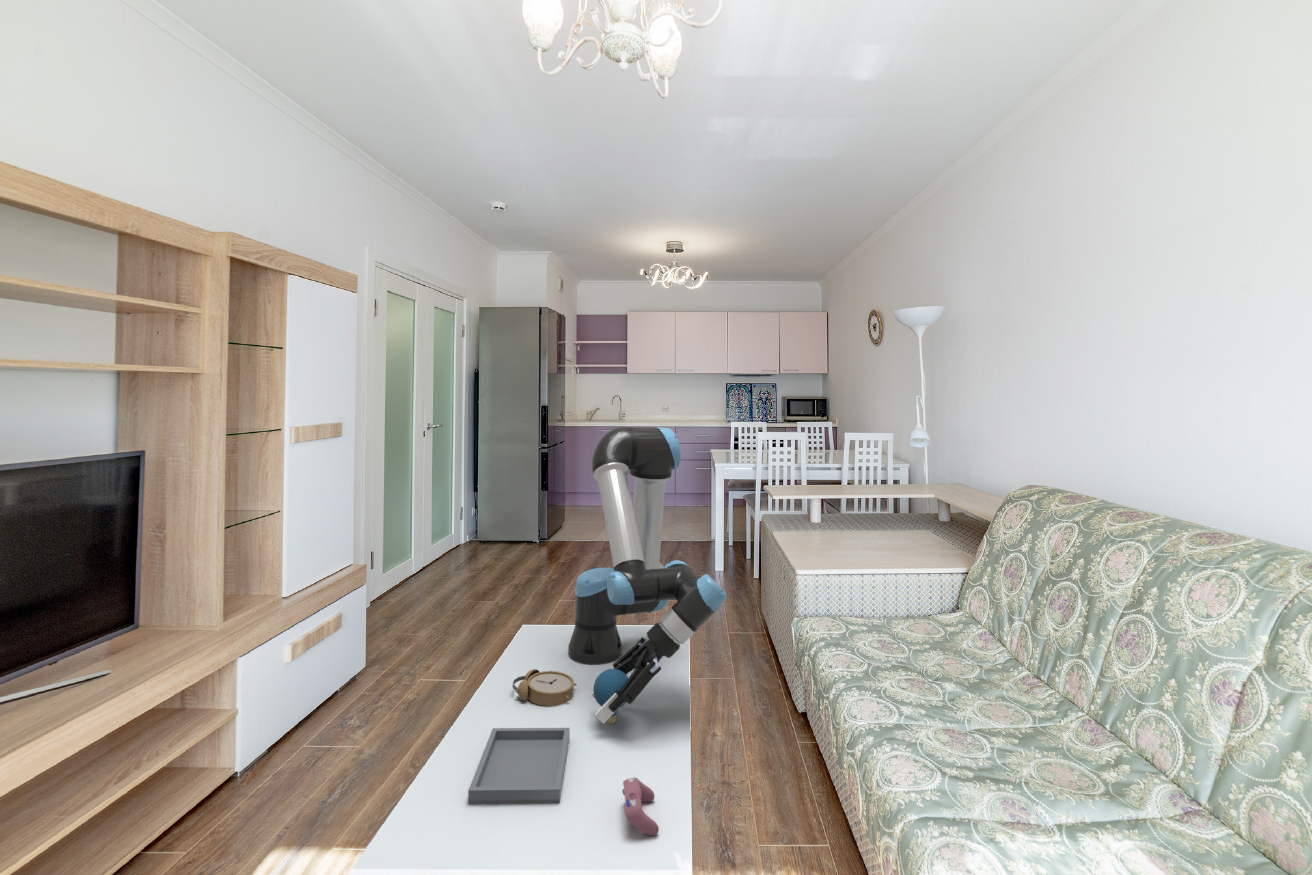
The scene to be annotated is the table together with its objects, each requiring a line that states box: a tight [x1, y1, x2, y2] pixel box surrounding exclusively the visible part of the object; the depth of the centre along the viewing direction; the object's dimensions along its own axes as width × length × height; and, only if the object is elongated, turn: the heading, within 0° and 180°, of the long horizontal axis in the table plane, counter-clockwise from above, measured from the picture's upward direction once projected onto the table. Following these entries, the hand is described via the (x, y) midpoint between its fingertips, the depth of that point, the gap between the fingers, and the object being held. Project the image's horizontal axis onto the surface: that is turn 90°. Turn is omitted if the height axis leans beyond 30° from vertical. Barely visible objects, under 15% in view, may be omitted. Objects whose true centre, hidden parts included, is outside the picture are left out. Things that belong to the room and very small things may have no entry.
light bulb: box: [592, 668, 629, 724], centre depth 133 cm, size 8×8×12 cm
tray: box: [467, 727, 571, 805], centre depth 116 cm, size 20×16×2 cm
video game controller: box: [621, 776, 660, 837], centre depth 103 cm, size 10×5×7 cm, turn 5°
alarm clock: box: [512, 668, 578, 707], centre depth 145 cm, size 11×5×15 cm
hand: (597, 707), depth 132 cm, fingers closed on light bulb, 8 cm apart
